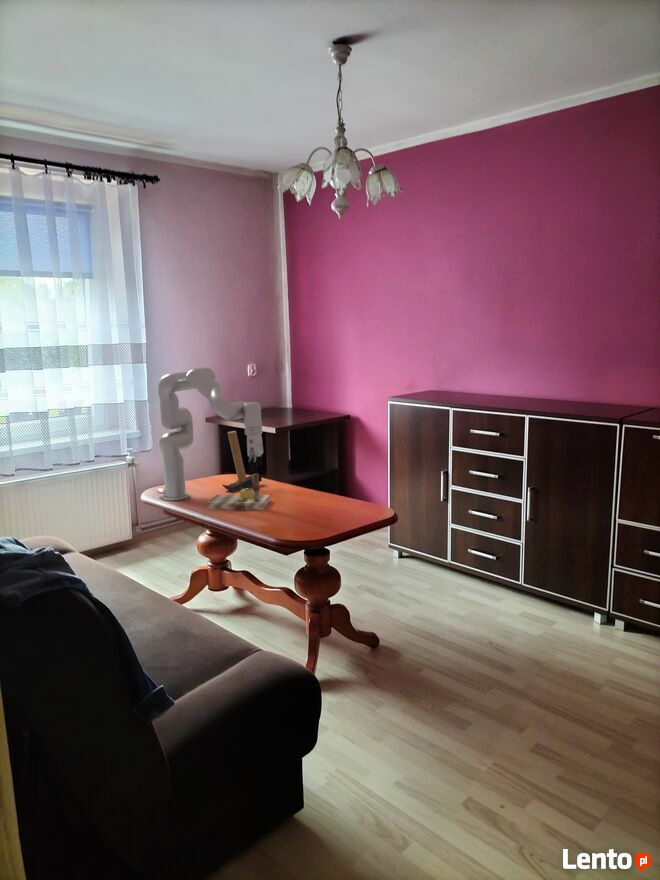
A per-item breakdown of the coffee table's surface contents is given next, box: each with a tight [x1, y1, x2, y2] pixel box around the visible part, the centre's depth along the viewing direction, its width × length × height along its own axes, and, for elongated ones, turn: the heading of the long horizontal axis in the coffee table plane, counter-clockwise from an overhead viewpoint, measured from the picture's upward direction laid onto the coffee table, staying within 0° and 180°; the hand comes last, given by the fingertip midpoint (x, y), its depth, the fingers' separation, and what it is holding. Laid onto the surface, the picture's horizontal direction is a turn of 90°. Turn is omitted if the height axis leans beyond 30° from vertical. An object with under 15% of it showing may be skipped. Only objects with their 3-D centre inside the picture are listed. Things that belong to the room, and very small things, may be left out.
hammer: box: [221, 430, 262, 492], centre depth 318 cm, size 20×5×30 cm, turn 131°
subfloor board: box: [206, 494, 271, 512], centre depth 291 cm, size 25×17×3 cm
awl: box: [251, 473, 261, 501], centre depth 286 cm, size 3×3×12 cm
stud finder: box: [239, 488, 254, 498], centre depth 294 cm, size 6×5×3 cm
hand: (255, 468), depth 284 cm, fingers open, 9 cm apart
